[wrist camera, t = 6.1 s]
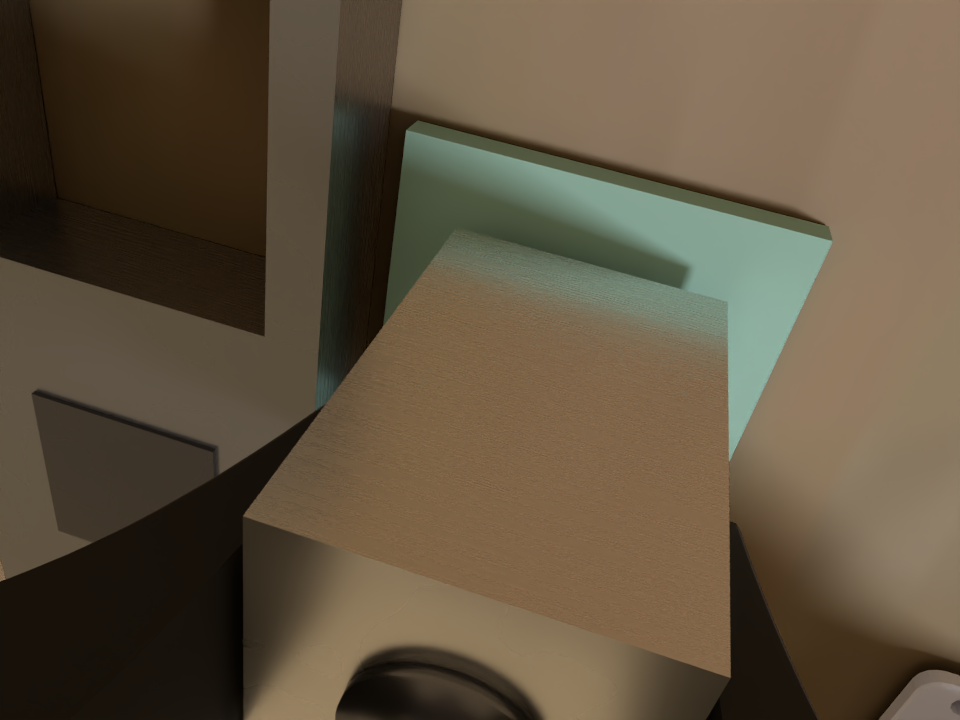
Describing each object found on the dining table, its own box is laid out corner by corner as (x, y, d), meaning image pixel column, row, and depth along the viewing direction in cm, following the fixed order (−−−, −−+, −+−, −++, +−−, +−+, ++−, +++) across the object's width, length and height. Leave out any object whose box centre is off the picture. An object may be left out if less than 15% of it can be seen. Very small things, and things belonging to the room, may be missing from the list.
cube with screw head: (727, 301, 12) (729, 698, 6) (645, 503, 15) (595, 921, 9) (456, 227, 13) (231, 531, 7) (422, 434, 15) (235, 785, 10)
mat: (828, 226, 13) (832, 241, 12) (690, 527, 17) (689, 547, 16) (418, 119, 13) (406, 129, 13) (379, 430, 17) (369, 446, 17)
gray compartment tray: (443, -399, 10) (366, -472, 8) (338, 608, 21) (295, 691, 19) (-107, -495, 11) (-311, -582, 9) (73, 517, 22) (3, 587, 20)
